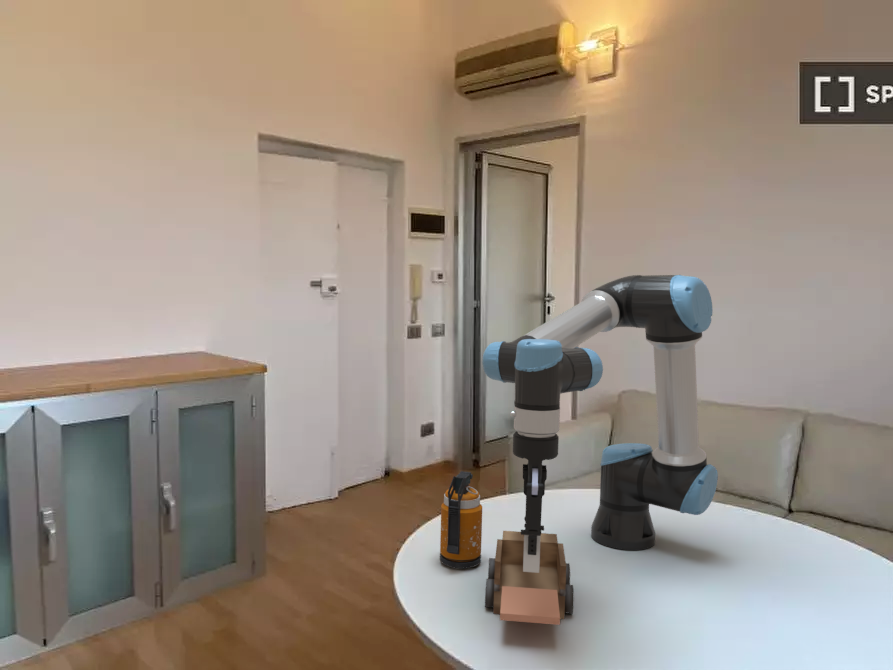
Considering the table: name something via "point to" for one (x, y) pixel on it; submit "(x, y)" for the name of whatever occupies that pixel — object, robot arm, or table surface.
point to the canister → (461, 524)
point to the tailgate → (529, 605)
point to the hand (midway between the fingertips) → (531, 570)
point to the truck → (510, 572)
